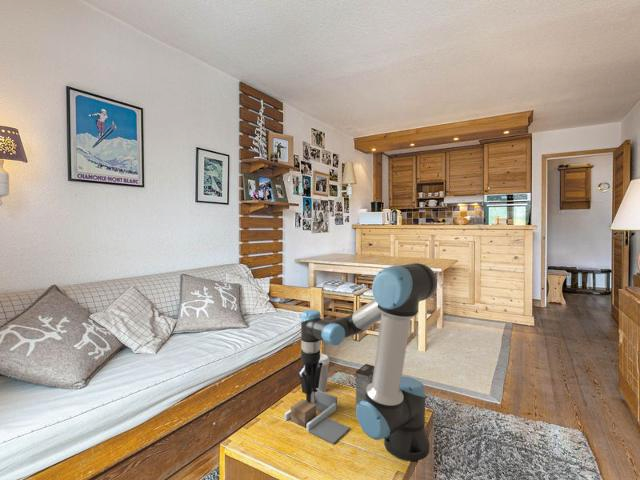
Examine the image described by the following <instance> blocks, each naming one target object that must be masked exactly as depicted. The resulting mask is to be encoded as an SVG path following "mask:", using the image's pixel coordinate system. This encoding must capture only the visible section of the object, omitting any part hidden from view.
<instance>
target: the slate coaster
mask: <svg viewBox="0 0 640 480" xmlns="http://www.w3.org/2000/svg"><path fill="white" fill-rule="evenodd" d="M350 430H351V427H350V426H349V425H345V424H343V423H340V422H338V421H336V420H334V419H332V418H329V417H326V418H325V419H323V420H322V421H321V422H320V423H318V424H317V425H316V426H315V427H313V428H312V429H311V430H309V431H308V433H309V434H311V435H312V436H315V437H316V438H319V439H321V440H323V441H326V442H327V443H329V444H332V445H334V444H336V443H337V442H339V440H340V439H341V438H342V437H344V436H345V434H347V433H348V432H349V431H350Z"/></svg>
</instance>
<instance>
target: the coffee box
mask: <svg viewBox="0 0 640 480" xmlns="http://www.w3.org/2000/svg"><path fill="white" fill-rule="evenodd" d="M373 373H374V365H371V364H368V363H365V364H363V365H362V366H361V367H360V368H358V369H357V370H356V372H355V408H356V407H357V405H358V404H359V403H360V402H361V401H364V399H365V394H366V388H367V386H368V385H369V384H370V383H372V380H373Z"/></svg>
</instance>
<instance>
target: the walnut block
mask: <svg viewBox="0 0 640 480" xmlns="http://www.w3.org/2000/svg"><path fill="white" fill-rule="evenodd" d="M290 410H291V418H290V422H291V423H294V424H296V425H298V426H300V427H302V428H306V424H307V423H308V422H310V421H311V420H312V419H314V418H315V417H316V416H317V410H316V404H314V403H311V402H308V401H306V399H303V398H302V399H300V400H299V401H297V402H295V403H294V404H293V405H291V406H290Z"/></svg>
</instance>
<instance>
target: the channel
mask: <svg viewBox="0 0 640 480" xmlns="http://www.w3.org/2000/svg"><path fill="white" fill-rule="evenodd" d="M316 390H317V389H316ZM314 404H316V412H317V411H318V412H320V413H319V414H318V415H316V417H315V418H314V419H312V420H311V421H310V422H308V423H307V424H306V427H305V428H306V429H305V430H306V431H307V432H309V430H311V429H312V428H313V427H315V426H316V425H317V424H318V423H320V422H321V421H322V420H323V419H325V418H326V417H327V418H329V416H330V415H332V414H333V413H334V412H335V411H337V409H338V396H335V395H333V394H331V393H328V392H325V391H324V392H322V391H320V390H317V392H315V398H314ZM283 416H284V418H283V419H284V421H285V422H287V421H289V420H291V409H289V410H288V411H286V412H285V413H284V415H283Z"/></svg>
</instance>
